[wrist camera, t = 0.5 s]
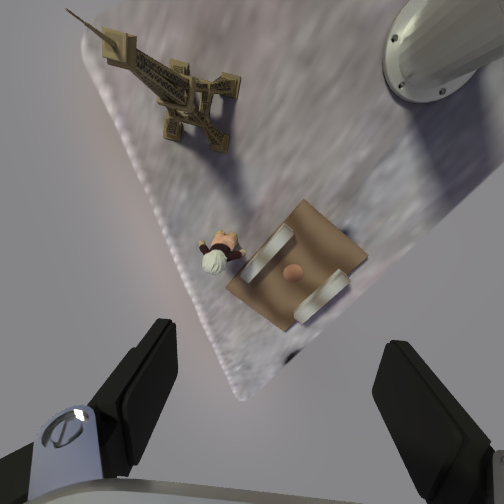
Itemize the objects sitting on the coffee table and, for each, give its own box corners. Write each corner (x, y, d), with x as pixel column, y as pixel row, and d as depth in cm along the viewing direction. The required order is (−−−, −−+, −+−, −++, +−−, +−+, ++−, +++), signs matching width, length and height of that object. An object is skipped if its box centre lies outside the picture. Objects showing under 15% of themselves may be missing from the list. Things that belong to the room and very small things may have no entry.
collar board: (303, 198, 39) (306, 202, 36) (366, 253, 42) (374, 261, 38) (226, 285, 47) (223, 295, 43) (283, 327, 49) (284, 339, 46)
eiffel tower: (163, 137, 38) (-11, 95, 15) (170, 59, 34) (-51, -165, 11) (226, 153, 38) (151, 137, 15) (240, 77, 34) (169, -108, 11)
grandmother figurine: (209, 248, 44) (185, 279, 32) (207, 229, 43) (182, 254, 31) (249, 249, 43) (240, 281, 32) (249, 229, 42) (239, 254, 30)
